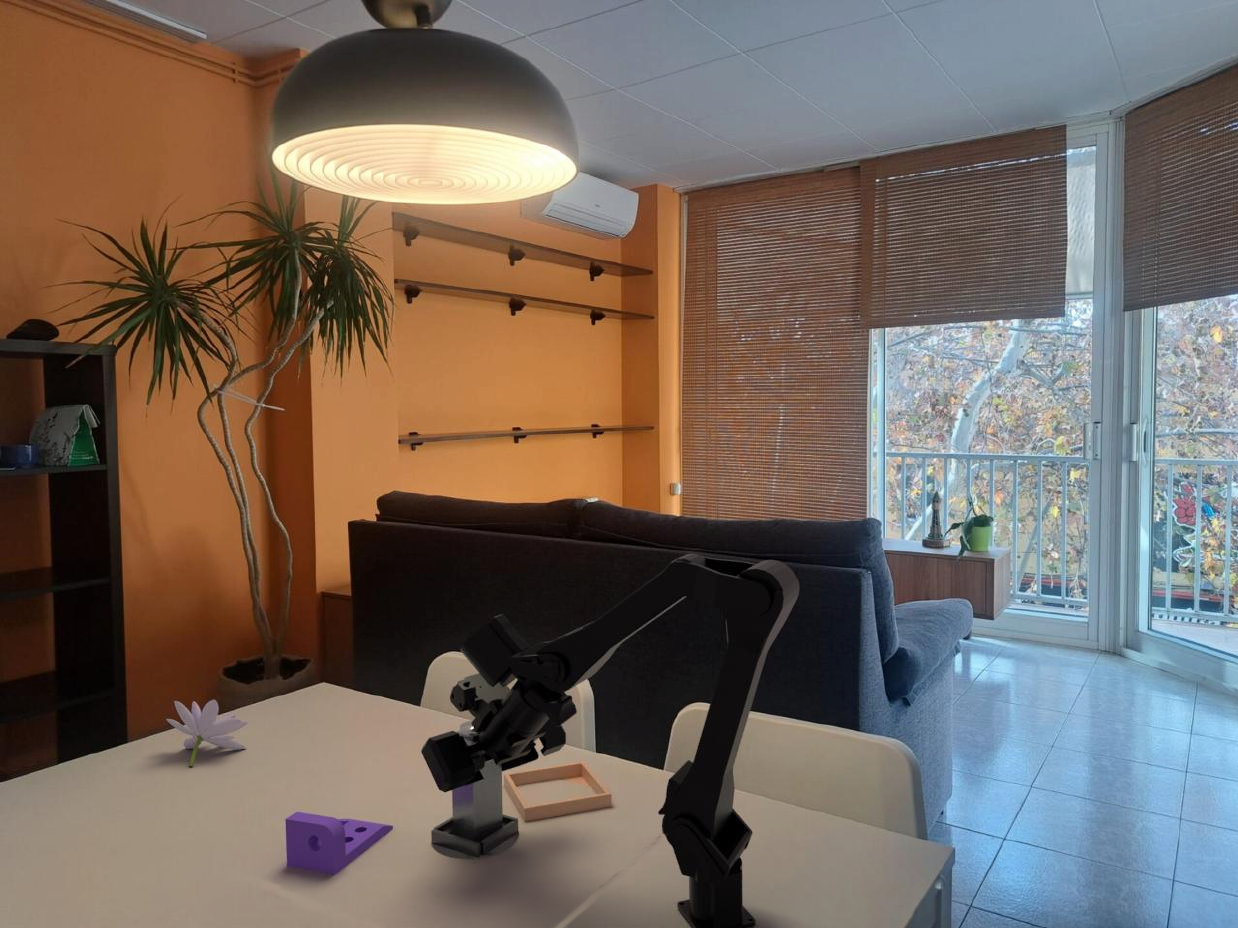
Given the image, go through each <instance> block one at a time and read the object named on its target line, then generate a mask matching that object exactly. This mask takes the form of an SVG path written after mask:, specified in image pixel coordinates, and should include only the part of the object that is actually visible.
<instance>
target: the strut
mask: <svg viewBox="0 0 1238 928" xmlns="http://www.w3.org/2000/svg"><path fill="white" fill-rule="evenodd" d="M472 721H473V720H469V721H465V722H462V723H461V724H460V725H459V731H456V732H457V733H459V735H460V736H463V738H464V740H465V742H466V744H467V745H469V746H470V745H473V742H472V740H471V739H472V737H473V736H476V735H479V734H480V733H479V731H477V732H475V730H474V728H473V726H472V724H471V723H472ZM481 756H482V755H481ZM480 772H481V774H482V776H483V778H484V779H483V780H480V781H478V782H475V783H472V784H469V785H467V786H462V787H459V788H456V789H453V790H451V799H452V800H451V801H452V807H451V808H452V817H453V834H454V835H456V836H458V837H461V838H465V839H468V840H471V841H474V842H478V843H480V842H481V841H482V840H484V839H485V838H487V837H489V836H490V835H492V834H493V833H495V832H496V831H498V830H499V829H501V828H502V827H503V815H504V814H503V772H502V764H499V765H496V764H495V762H494V760H492V761H489V762H486V763H485V766H484V768H483V769H482V770H480Z"/></svg>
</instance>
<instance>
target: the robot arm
mask: <svg viewBox="0 0 1238 928" xmlns="http://www.w3.org/2000/svg"><path fill="white" fill-rule="evenodd" d="M799 594H800V582H799V580H798V578H797V576H796V574H795V572H794V571H793V570H792V569H791V568H790V566H788V564H786V563H784V562H782V561H780V560H777V559H776V560H775V559H766V560H762V561H760V562H757V563H753V562H748V561H742V560H736V559H723V558H713V557H709V556H703V555H700V554H698V553H687V554H684V555H683V556H680V557H677V558H675V559H673V560H671V561H670V562H669V563H668V564H667V566H666V567H664V569H663V570H662V571H660V572H659V573H658V574H656V575H655V576H653V577H652V578H651V579H650V580H648V581H646V582H645V583H644V584H642V585H641V586H640V587H638V588H637V589H636V590H634V591H633V592H632V593H630V594H629V595H627V596H626V597H625V598H624V599H622V600H621V601H619V602H618V603H617V604H615V605H614V606H612V607H611V608H610V609H609V610H607V611H605V613H603V614H602V615H601V616H599V617H597V618H596V619H595V620H594V621H591V622H589V623H587V624H585V625H583V626H581V627H578V628H576V629H574V630H572V631H570V632H568V633H566V634H564V635H562V636H560V637H557V638H555V639H554V640H550V641H542V642H539V643H537V644H535V645H533V646H530V645H529V644H528V643H527V641H525V639H524V638H523V637H522V636H521V635H520V634H519V632H518V631H517V630H516V629H515V628H514V626H513V624H512V623H511V621H510V620H509V619H508V618H507V617H506V615H505V614H503V613H501V614H498V615H495V616H494V617H492V618H491V619H490V620H489V622H488V623H486V624H485V625H483V626H481V628H479V629H478V630H477V631H476V632H475V633H473V634H472V635H469V636H468V637H467V638H466V639H465V640H464V642H463V644H462V645H461V646H460V652H461V653H462V655H464V657H465V658H466V659H467V660H468V662H469V663H470V664H471V665H472V666H473V667H474V668H475V670H476V671H477V673H475V674H472V675H468V676H465V677H464V678H463V679H461V680H458V682H457V684H455V685H454V686H453V687H452V689H451V692H450V696H449V700H450V703H451V704H452V705H453V706H454V708H455V709H457V711H458V712H460V713H462V712H466V711H468V713H470V714H471V716H473V717H474V718H473V720H471V721H472V723H471V724H472V726H473V728H474V730H475V732H477V731H479V733H480V734H479V735H476V736H473V737H472V739H471V740H472V742H473V745H470V746H469V745H467V744H466V742H465V740H464V738H463V736H460V735H459V733H457V732H458V731H454V730H450V731H447V732H444V733H441V734H438V735H434V736H432V737H431V736H430V737H428V738H427V740H426V742H425V743H424V744H423V746H422V748H421V751H420V753H421V754H422V757H423V759H424V760H425V763H426V765H427V767H428V769H429V771H430V774H431V776H432V778H433V780H434V783H435V784H436V787H437V789H438V790H439V791H441V792H442V793H448V792H450V791H451V792H452V790H453V789H456V788H459V787H462V786H467V785H469V784H472V783H475V782H478V781H480V780H483V779H484V778H483V776H482V774H481V772H480V770H482V769H483V768H484V766H485V763H486V762H489V761H492V760H494V762H495V764H496V765H499V764H502V773H503V772H505V771H508V770H511V769H514V768H517V767H521V766H524V765H526V764H530V763H532V762H535V761H537V760H538V759H539V752H538V751H537V749H536V746H537V743H536V742H537V740H538V739H539V741H540V743H541V745H542V748H541V749H540V750H539V751H540V752H541V755H542V756H544V757H546V756H548V755H551V754H554V753H556V752H560V751H561V749H562V748H563V747H564V746H565V745H566V744H567V732H566V731H565V729H564V727H563V724H564V723H566V722H567V721H569V720H570V719H571V718H572V717H574V716H575V715H577V712H578V711H577V710H578V709H577V707H576V704H575V703H574V701H573V696H572V695H570V694H569V695H568V694H567V693H566V692H567V691H569V690H571V689H573V688H575V687H577V686H579V684H582V682H585V681H586V680H588V679H589V678H591V677H593V676H594V675H595V674H596V673H597V672H598V671H599V670H600V669H601V668H602V667H603V666H604V665H605V664H606V663H607V662H608V660H609V659H610V658H611V657H612V655H614V653H615V652H616V650H617V648H619V647H620V646H621V645H622V643H623V642H625V641H626V640H627V639H629V638H630V637H632V636H633V635H635V634H636V633H638V632H639V631H640V630H642V629H643V628H644V627H646V626H648V625H649V624H650V623H652V621H653V622H654V621H655V620H656V619H657V618H658V617H661V616H662V615H663V614H664V613H666V612H667V611H668V610H670V609H671V608H673V607H674V606H676V605H677V604H678V603H680V602H682V600H684V599H685V598H691V599H694V600H696V601H698V602H700V603H702V604H705V605H707V606H709V607H711V608H714V609H718V610H722V611H725V631H726V640H727V642H726V648H725V651H724V654H723V659H722V662H721V666H720V669H719V672H718V675H717V680H716V682H715V687H714V690H713V692H712V695H711V696H712V698H711V699H710V704H709V707H708V711H707V714H706V717H705V720H704V724H703V728H702V731H701V734H700V738H699V741H698V745H697V749H696V752H695V754H694V758H693V759H694V760H693V761H691V760H690V759H689V760H687V761H686V762H684V764H683V765H682V766H681V767H680V768H678V770H677V771H675V773H674V774H673V775H672V776H671V777H670V778H668V780H667V781H668V782H667V785H666V790H665V791H666V792H665V800H664V802H663V805H662V807H661V808H660V810H659V811H658V812H657V813H658V815H659V816H662V815H663V817H662V823H661V830H662V834H663V835H664V836H665V838H666V840H667V842H668V843H669V844H670V845H671V847H672V849H673V853H674V856H675V858H676V862H677V864H678V869H679V870H680V874H681V875H683V876H686V877H688V899H685V900H679V901H678V902H677V903H676V904H677V906H676V907H677V909H678V911H679V912H680V913H681V914H682V916H683V917H684V918H685V919H686V921H687V923H689V924H690V926H691V927H692V928H751V927H754V926H756V919H755V918H754V916H752V914H751V913H750V912H749V910H748V909H746V908H745V907H744V905H743V903H744V902H743V898H744V897H743V860H742V858H741V855H742V854H743V853H744V851H745V850H746V849H747V848H748V847H749V844H750V842H751V838H752V836H753V830H752V828H750V826H749V825H748V824H747V823H746V822H745V820H744V819H742V817H741V816H740V815H739V814H738V812H737V811H736V810H735V809H734V808H733V807H734V798H735V781H734V780H735V779H734V765H735V763H736V759H737V756H738V755H737V754H738V752H739V749H740V745H741V743H742V739H743V736H744V731H745V729H746V725H747V722H748V719H749V715H750V713H751V710H752V705H753V702H754V699H755V695H756V692H757V688H758V685H759V682H760V678H761V675H762V671H763V668H764V665H765V663H766V659H767V656H768V652H769V650H770V649H771V646H772V644H773V643H774V641H775V639H776V638H777V636H778V635H779V633H780V631H781V630H782V628H783V627H784V624H785V622H786V621H787V619H788V618H789V615H790V614H791V612H792V609H793V607H794V605H795V604H796V602H797V600H798V598H799ZM515 680H516V682H515V683H514V684H513V685H512V687H511V688H510V687H509V685H510V684H511V683H513V682H514V681H515ZM481 755H482V756H481Z"/></svg>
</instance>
